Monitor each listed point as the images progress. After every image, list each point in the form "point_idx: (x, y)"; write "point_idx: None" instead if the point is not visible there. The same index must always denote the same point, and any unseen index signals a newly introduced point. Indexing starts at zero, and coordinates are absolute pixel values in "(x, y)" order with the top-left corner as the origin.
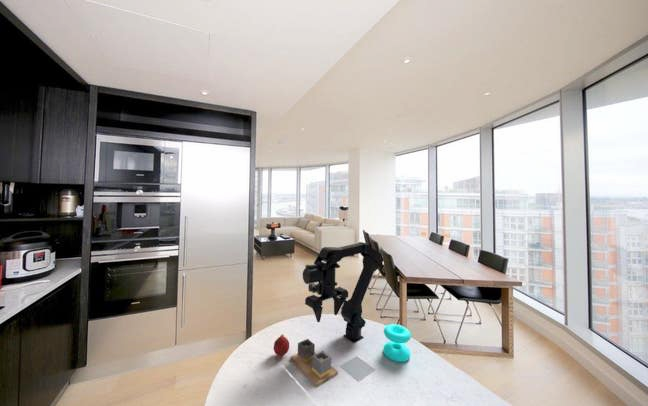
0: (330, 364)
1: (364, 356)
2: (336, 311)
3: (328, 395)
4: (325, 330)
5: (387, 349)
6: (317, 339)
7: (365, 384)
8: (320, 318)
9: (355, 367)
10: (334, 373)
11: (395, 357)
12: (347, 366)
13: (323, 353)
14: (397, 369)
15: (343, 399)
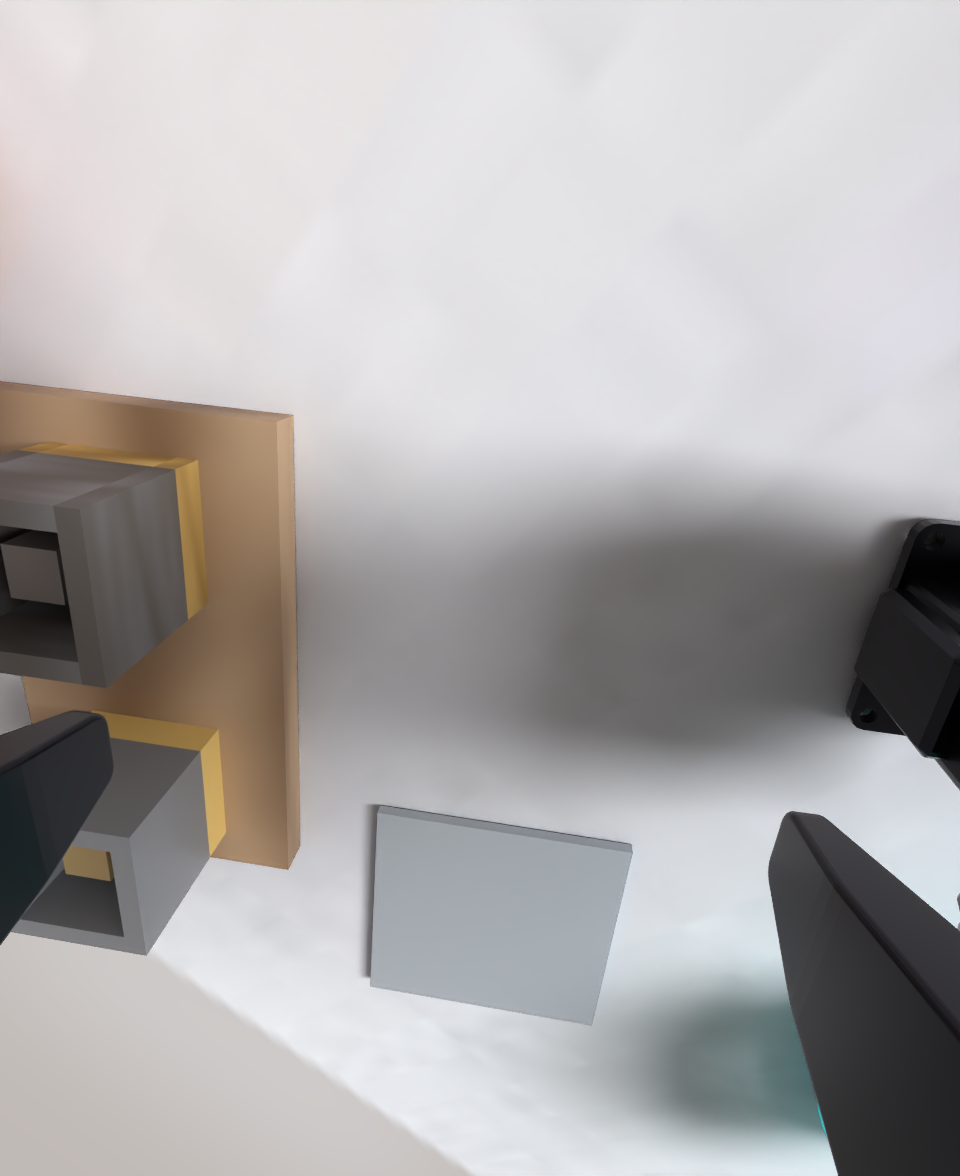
0: (183, 890)
1: (702, 888)
2: (807, 1005)
3: None
4: (909, 138)
5: None
6: (566, 270)
7: (403, 1011)
8: (16, 914)
9: (480, 913)
10: (246, 860)
11: None
12: (434, 862)
13: (114, 864)
14: (737, 1110)
15: (182, 968)
